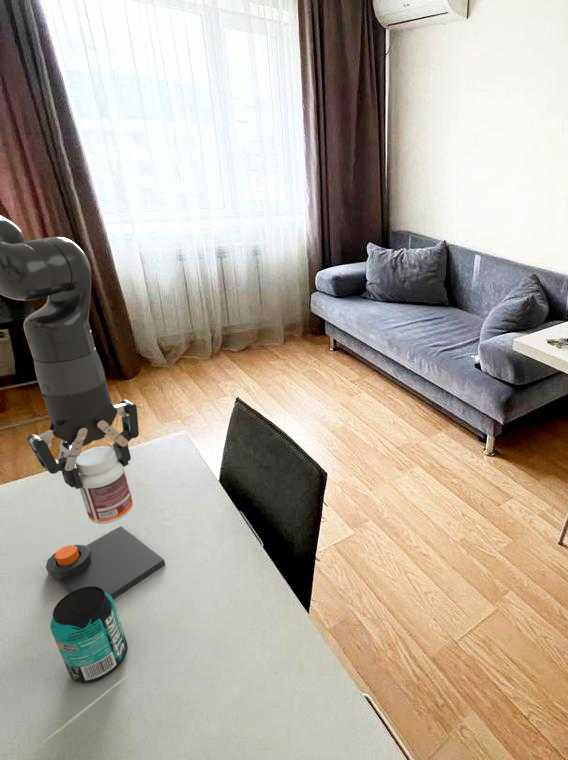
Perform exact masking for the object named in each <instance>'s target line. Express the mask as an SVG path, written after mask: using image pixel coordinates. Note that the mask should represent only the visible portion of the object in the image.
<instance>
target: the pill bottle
mask: <svg viewBox="0 0 568 760" xmlns="http://www.w3.org/2000/svg"><path fill="white" fill-rule="evenodd" d="M75 467H76V468H77V470H78V473H79V476H80V479H81V483H82V487H81V488H79V489H78V490H79V492H80V495H81V498H82V501H83V504H84V507H85V510H86V514H87V516H88V519H89V520H90V521H91V522H92V523H94V524H98V525H99V524H100V525H107V524H112V523H114V522H118V521H119V520H121V519H123V518H125V517H126V516H127V515H128V514H129V513H130V512H131V511H132V510H133V509H134V501H133V497H132V492H131V488H130V485H129V482H128V479H127V475H126V471H125V468H124V467H123V465H122V464H121V463H120V462H119V461H117V457H116V454H115V451H114V448H113V447H111V446H107V445H102V446H95V447H91V448H88V449H86V450H83V451H81V452H80V455H79V456H77V459H76V463H75Z"/></svg>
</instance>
